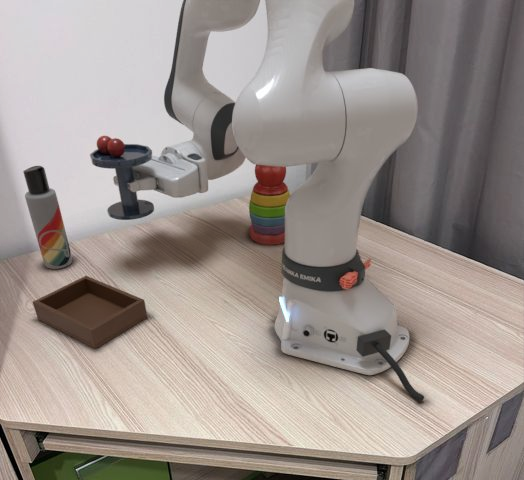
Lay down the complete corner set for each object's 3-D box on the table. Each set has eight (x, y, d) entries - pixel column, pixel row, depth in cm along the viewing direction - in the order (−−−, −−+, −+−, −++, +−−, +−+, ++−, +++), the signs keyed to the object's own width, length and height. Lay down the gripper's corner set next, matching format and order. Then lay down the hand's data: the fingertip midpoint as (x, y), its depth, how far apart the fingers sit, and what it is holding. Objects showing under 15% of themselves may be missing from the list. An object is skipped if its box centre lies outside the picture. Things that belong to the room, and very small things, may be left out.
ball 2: (124, 136, 97) (111, 133, 99) (114, 146, 96) (100, 143, 97) (131, 151, 100) (118, 149, 101) (120, 161, 98) (107, 158, 100)
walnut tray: (147, 317, 95) (144, 299, 93) (95, 348, 88) (91, 330, 85) (90, 292, 103) (86, 275, 101) (37, 319, 95) (32, 301, 93)
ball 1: (118, 139, 100) (105, 129, 100) (106, 147, 98) (93, 136, 98) (117, 152, 102) (104, 142, 103) (105, 160, 101) (92, 149, 101)
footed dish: (171, 207, 107) (163, 149, 100) (129, 226, 100) (118, 164, 93) (133, 197, 112) (123, 141, 105) (90, 214, 105) (77, 155, 98)
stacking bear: (298, 228, 125) (300, 150, 114) (289, 247, 117) (290, 164, 106) (253, 225, 127) (251, 147, 116) (242, 243, 119) (238, 161, 109)
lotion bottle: (64, 270, 110) (38, 172, 98) (39, 268, 111) (10, 171, 99) (77, 258, 114) (54, 163, 103) (53, 256, 115) (27, 161, 104)
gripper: (147, 142, 114) (90, 157, 106) (211, 161, 102) (151, 179, 94) (151, 172, 118) (96, 188, 110) (213, 193, 106) (156, 213, 98)
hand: (122, 184), depth 102 cm, fingers closed on footed dish, 3 cm apart
